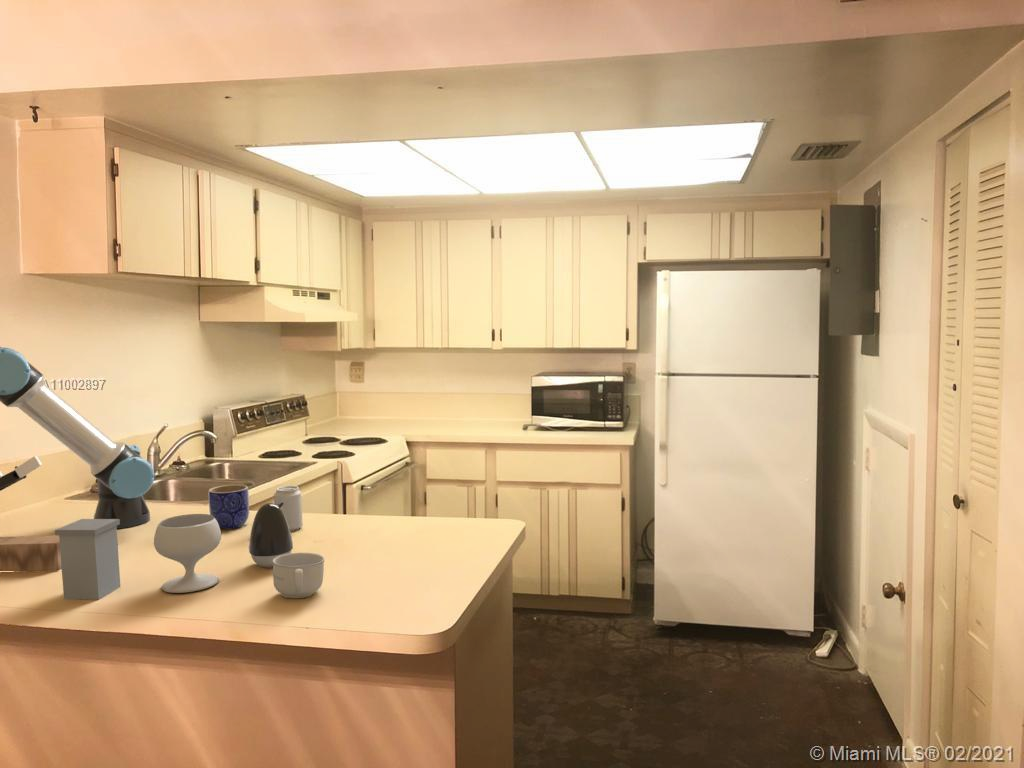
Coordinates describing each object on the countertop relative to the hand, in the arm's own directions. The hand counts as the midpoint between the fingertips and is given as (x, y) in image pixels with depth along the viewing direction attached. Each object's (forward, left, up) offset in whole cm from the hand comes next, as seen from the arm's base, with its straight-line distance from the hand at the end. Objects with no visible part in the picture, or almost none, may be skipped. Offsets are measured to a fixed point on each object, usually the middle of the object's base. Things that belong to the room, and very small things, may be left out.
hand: (19, 465), depth 190 cm
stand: (-5, +32, -25) cm, 41 cm away
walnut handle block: (-7, +7, -27) cm, 28 cm away
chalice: (-22, +44, -26) cm, 55 cm away
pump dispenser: (-42, +44, -26) cm, 66 cm away
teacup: (-35, +69, -26) cm, 81 cm away
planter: (-51, +2, -26) cm, 57 cm away
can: (-61, +18, -26) cm, 69 cm away
